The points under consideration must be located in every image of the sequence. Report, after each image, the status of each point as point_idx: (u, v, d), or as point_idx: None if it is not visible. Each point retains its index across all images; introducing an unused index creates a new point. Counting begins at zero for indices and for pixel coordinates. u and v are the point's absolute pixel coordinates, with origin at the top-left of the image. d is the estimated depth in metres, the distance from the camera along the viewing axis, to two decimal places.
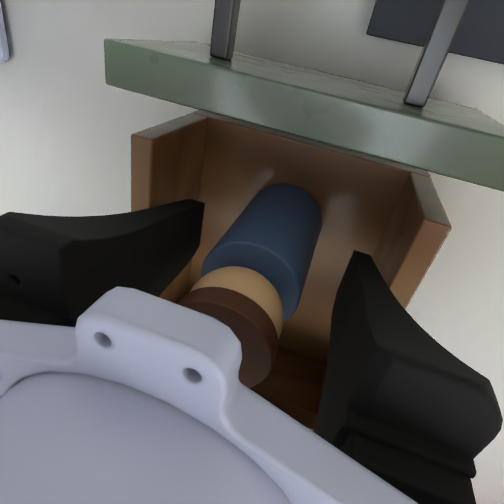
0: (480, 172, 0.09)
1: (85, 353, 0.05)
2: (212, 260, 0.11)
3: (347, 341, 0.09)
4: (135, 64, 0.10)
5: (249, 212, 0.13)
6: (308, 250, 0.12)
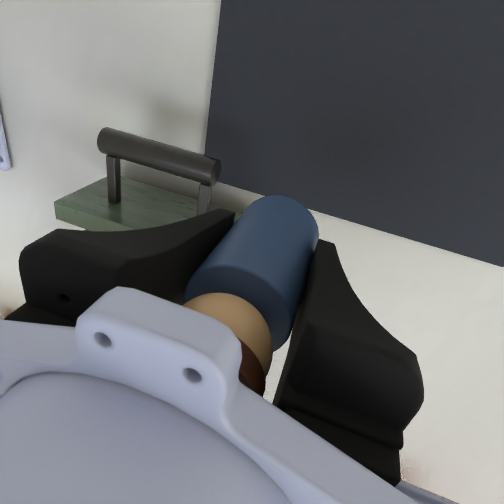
0: None
1: (85, 353, 0.05)
2: (195, 283, 0.10)
3: (299, 324, 0.10)
4: (68, 213, 0.21)
5: (238, 228, 0.12)
6: (302, 271, 0.11)
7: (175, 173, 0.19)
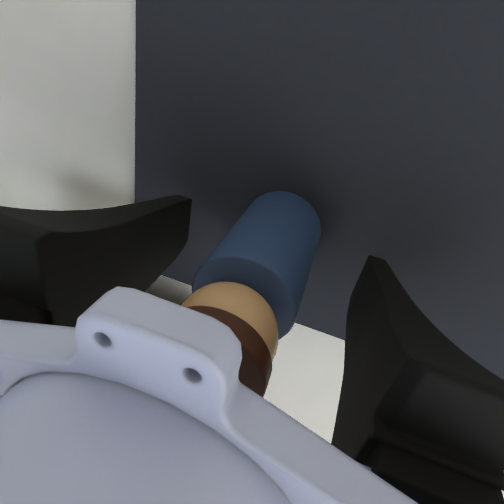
0: None
1: (85, 353, 0.05)
2: (204, 274, 0.11)
3: (367, 348, 0.09)
4: None
5: (244, 222, 0.12)
6: (306, 262, 0.12)
7: None
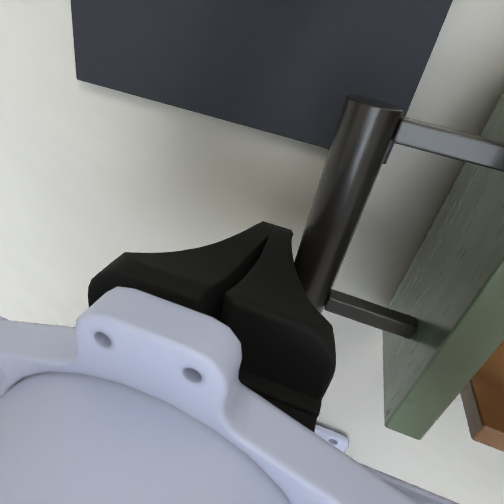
0: None
1: (85, 353, 0.05)
2: None
3: None
4: (410, 415, 0.11)
5: None
6: None
7: (361, 190, 0.10)
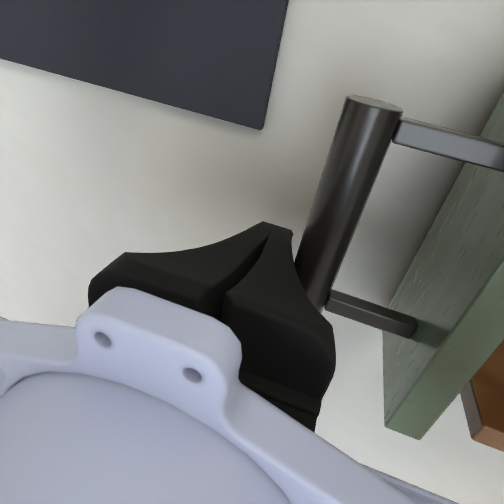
0: None
1: (85, 353, 0.05)
2: None
3: None
4: (410, 415, 0.11)
5: None
6: None
7: (361, 190, 0.10)
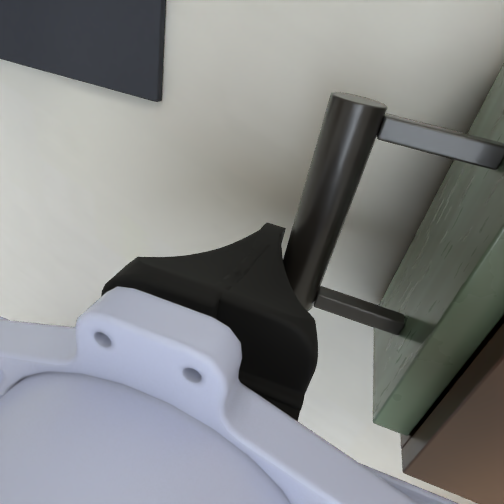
0: None
1: (85, 353, 0.05)
2: None
3: None
4: (398, 411, 0.11)
5: None
6: None
7: (347, 187, 0.10)
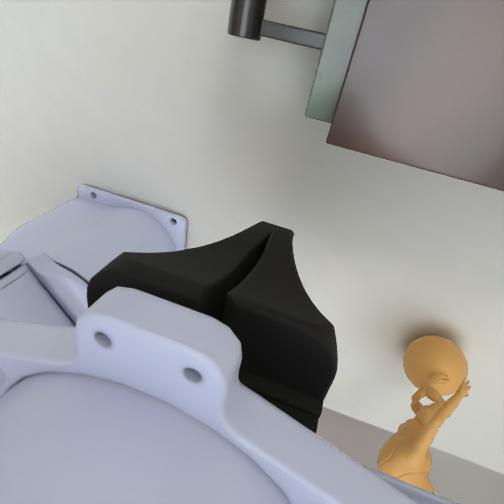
0: None
1: (85, 353, 0.05)
2: None
3: None
4: (322, 93, 0.14)
5: None
6: None
7: None
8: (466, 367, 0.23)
